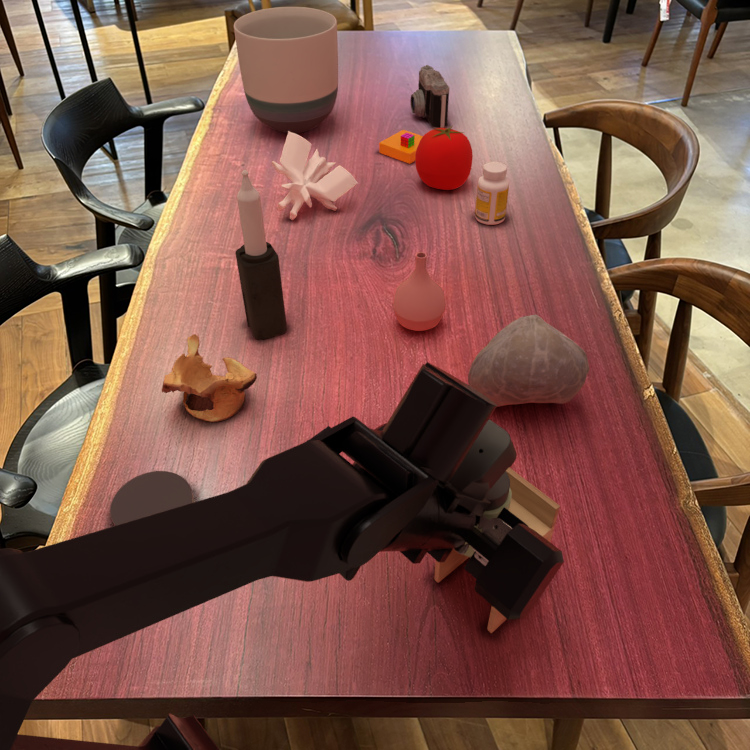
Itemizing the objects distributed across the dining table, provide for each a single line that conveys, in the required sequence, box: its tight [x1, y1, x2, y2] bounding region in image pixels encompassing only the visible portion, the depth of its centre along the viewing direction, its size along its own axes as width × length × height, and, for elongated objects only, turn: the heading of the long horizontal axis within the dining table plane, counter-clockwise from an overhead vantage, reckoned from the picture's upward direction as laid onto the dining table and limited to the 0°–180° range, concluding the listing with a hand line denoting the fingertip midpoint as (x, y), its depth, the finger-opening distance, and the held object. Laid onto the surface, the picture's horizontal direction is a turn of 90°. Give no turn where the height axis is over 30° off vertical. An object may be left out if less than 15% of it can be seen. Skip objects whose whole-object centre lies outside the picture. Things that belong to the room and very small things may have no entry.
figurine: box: [271, 131, 359, 221], centre depth 130 cm, size 15×12×14 cm
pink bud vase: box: [391, 251, 447, 332], centre depth 102 cm, size 8×8×12 cm
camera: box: [410, 64, 450, 129], centre depth 157 cm, size 15×7×10 cm, turn 12°
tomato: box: [414, 125, 474, 191], centre depth 133 cm, size 10×11×11 cm
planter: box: [233, 6, 339, 134], centre depth 149 cm, size 20×20×21 cm
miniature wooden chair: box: [433, 467, 561, 634], centre depth 69 cm, size 7×8×14 cm
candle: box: [235, 169, 288, 341], centre depth 97 cm, size 5×5×25 cm
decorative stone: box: [467, 314, 590, 408], centre depth 88 cm, size 15×10×15 cm
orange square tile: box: [378, 129, 424, 165], centre depth 146 cm, size 8×8×4 cm
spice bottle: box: [463, 471, 512, 558], centre depth 62 cm, size 5×5×8 cm
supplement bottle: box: [474, 161, 510, 226], centre depth 124 cm, size 5×5×10 cm
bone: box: [161, 333, 258, 424], centre depth 92 cm, size 12×10×8 cm
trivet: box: [109, 470, 196, 526], centre depth 81 cm, size 9×9×2 cm
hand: (488, 517), depth 65 cm, fingers closed on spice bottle, 5 cm apart
